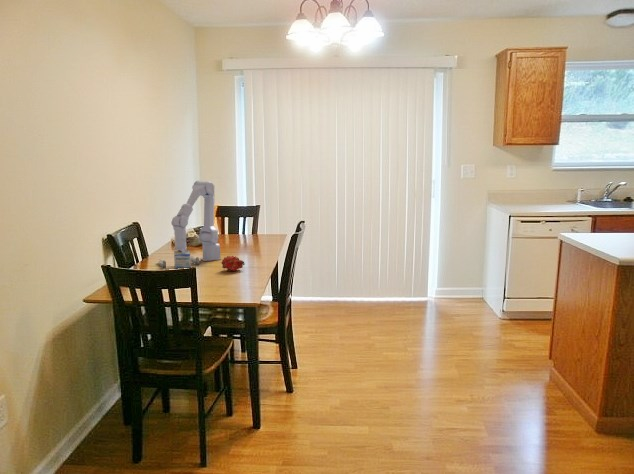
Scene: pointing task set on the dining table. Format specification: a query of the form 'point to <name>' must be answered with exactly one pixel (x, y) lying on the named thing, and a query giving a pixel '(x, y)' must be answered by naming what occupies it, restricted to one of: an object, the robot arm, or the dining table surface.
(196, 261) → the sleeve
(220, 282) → the dining table surface
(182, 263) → the medicine box
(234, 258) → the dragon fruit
